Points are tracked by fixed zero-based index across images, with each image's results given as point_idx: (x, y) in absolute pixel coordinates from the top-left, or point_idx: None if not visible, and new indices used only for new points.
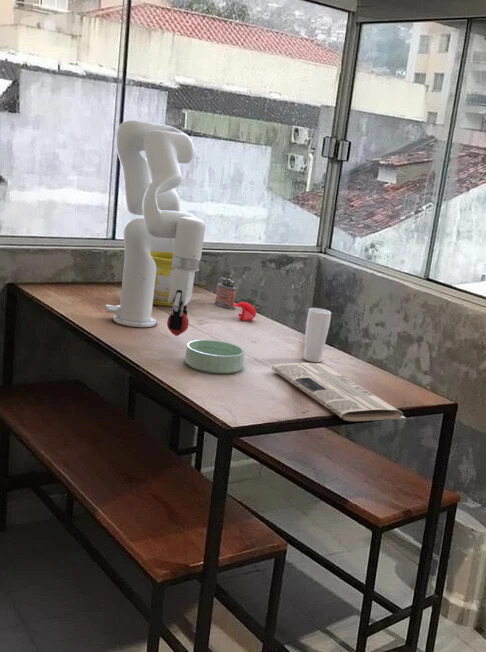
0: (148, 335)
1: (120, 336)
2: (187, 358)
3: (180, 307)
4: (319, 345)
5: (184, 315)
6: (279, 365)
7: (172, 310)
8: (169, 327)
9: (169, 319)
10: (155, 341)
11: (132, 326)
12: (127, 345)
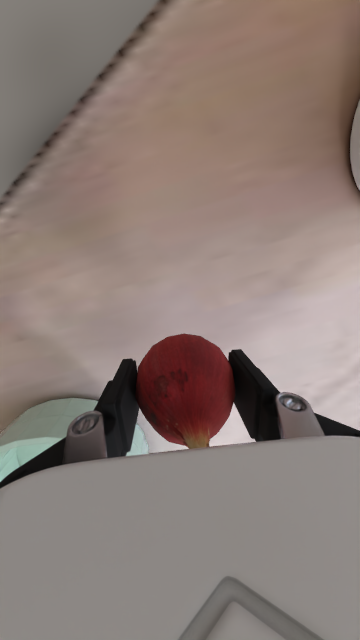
0: (268, 231)
1: (203, 139)
2: (11, 424)
3: (269, 424)
4: None
5: (180, 444)
6: None
7: (66, 445)
8: (123, 359)
9: (153, 362)
10: (210, 271)
11: (350, 142)
12: (105, 202)
